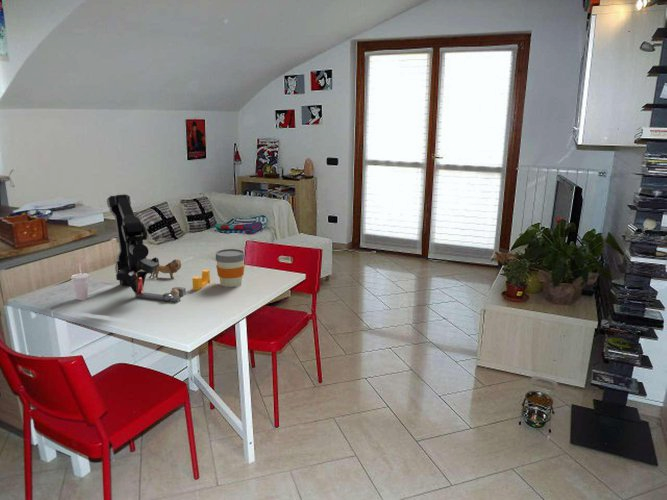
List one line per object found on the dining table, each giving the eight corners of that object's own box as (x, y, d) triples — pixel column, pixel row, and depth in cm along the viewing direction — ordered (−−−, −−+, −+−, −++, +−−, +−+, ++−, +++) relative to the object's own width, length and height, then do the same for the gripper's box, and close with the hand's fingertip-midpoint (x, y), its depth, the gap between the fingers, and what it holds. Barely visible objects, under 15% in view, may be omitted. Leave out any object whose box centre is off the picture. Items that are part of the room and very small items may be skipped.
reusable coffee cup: (225, 292, 211) (224, 258, 207) (211, 284, 220) (209, 251, 216) (251, 286, 219) (250, 253, 215) (236, 279, 228) (235, 247, 224)
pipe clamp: (200, 283, 222) (200, 269, 220) (210, 284, 221) (209, 270, 220) (189, 292, 210) (188, 278, 209) (199, 293, 210) (198, 278, 208)
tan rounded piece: (168, 298, 200) (168, 290, 199) (173, 295, 203) (173, 287, 202) (176, 299, 199) (175, 291, 198) (181, 296, 202) (180, 288, 201)
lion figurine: (182, 276, 231) (181, 257, 228) (181, 279, 226) (180, 260, 223) (148, 277, 227) (147, 258, 225) (147, 281, 222) (145, 262, 220)
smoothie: (95, 296, 203) (91, 263, 199) (82, 302, 197) (78, 268, 193) (82, 294, 205) (78, 262, 201) (69, 300, 199) (65, 266, 195)
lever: (133, 297, 199) (131, 278, 197) (138, 294, 203) (137, 276, 201) (176, 303, 195) (175, 283, 193) (181, 300, 198) (180, 280, 196)
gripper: (140, 261, 185) (143, 300, 189) (166, 248, 203) (169, 284, 207) (113, 259, 187) (117, 298, 191) (141, 246, 205) (144, 282, 209)
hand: (138, 290), depth 200 cm, fingers open, 4 cm apart
